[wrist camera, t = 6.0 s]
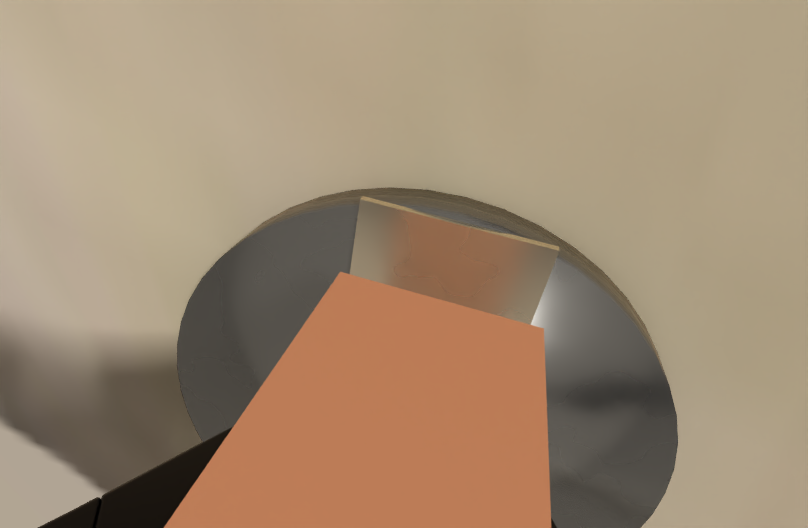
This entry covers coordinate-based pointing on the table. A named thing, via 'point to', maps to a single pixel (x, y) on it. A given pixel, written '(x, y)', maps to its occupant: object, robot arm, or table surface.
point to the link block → (388, 423)
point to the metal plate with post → (460, 284)
